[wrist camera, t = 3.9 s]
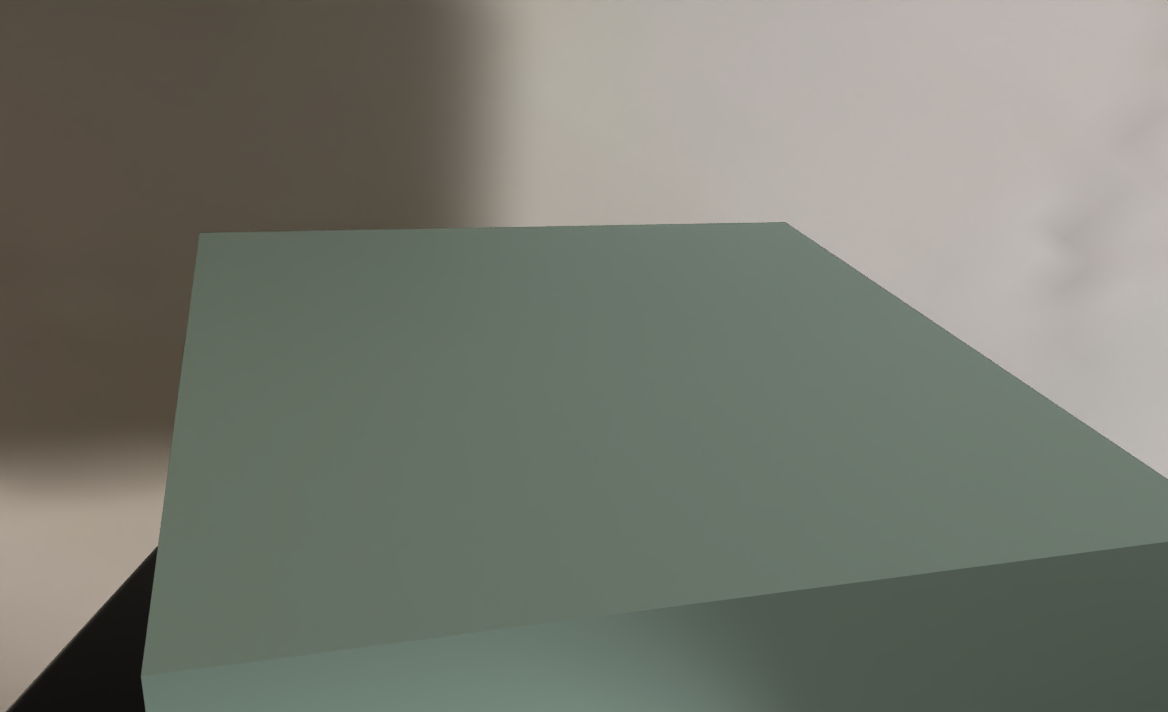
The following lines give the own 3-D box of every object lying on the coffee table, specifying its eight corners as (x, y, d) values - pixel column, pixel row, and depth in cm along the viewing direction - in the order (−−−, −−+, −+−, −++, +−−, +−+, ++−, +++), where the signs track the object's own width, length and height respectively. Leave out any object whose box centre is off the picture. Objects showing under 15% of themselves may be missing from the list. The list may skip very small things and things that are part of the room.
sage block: (716, 655, 11) (1001, 1141, 7) (241, 726, 10) (236, 1387, 6) (784, 221, 9) (1244, 531, 5) (199, 232, 8) (141, 675, 4)
